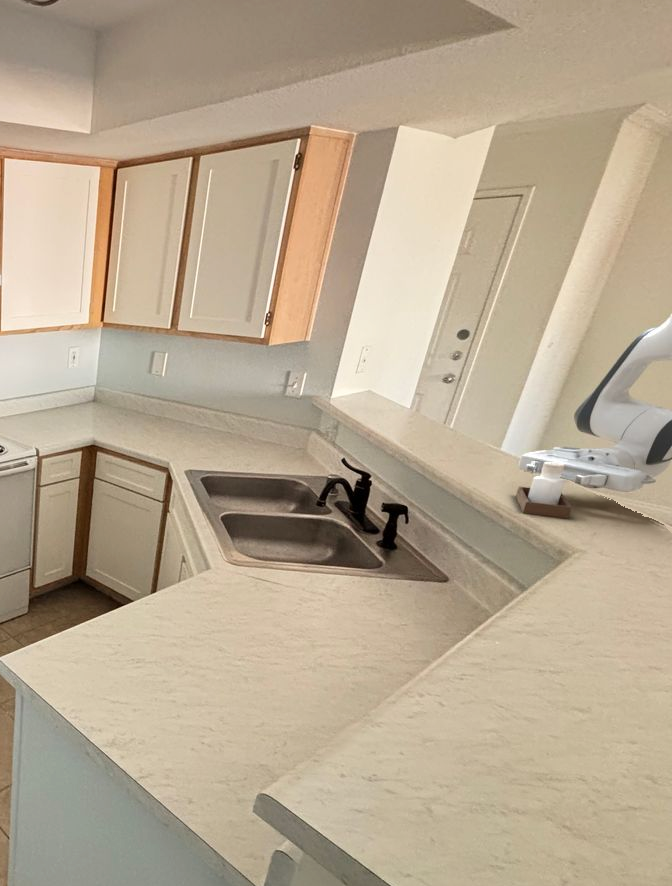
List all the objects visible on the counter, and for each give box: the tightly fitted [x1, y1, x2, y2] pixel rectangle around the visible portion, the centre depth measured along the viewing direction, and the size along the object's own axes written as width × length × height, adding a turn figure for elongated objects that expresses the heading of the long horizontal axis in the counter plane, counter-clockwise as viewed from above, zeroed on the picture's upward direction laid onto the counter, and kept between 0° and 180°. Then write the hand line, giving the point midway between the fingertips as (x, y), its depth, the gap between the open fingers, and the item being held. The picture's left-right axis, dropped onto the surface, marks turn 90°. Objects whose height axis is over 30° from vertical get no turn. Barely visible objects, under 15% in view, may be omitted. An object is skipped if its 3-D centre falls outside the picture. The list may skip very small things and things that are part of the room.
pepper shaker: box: [527, 462, 566, 505], centre depth 128 cm, size 4×4×10 cm
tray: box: [515, 486, 572, 519], centre depth 130 cm, size 13×7×2 cm, turn 143°
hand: (552, 474), depth 128 cm, fingers open, 8 cm apart
